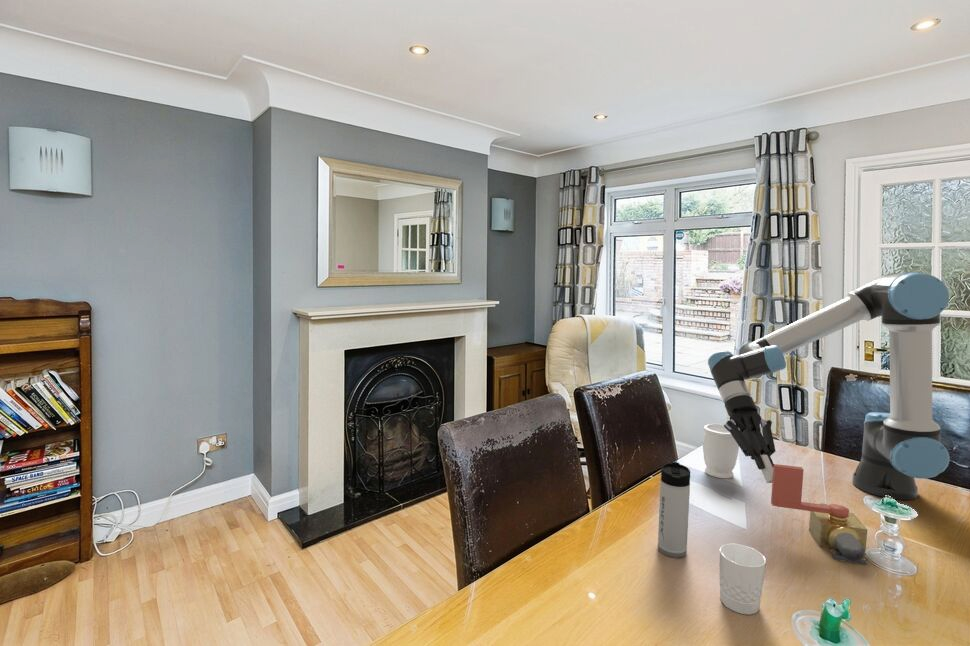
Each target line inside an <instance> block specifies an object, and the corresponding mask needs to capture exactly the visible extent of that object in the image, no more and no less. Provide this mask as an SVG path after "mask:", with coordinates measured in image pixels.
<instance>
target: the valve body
mask: <svg viewBox="0 0 970 646" xmlns="http://www.w3.org/2000/svg"><path fill="white" fill-rule="evenodd" d="M821 504H822V505H828V504H827V503H823V502H822V503H821ZM808 531H809V533H810V534H811V537H812V538H813V539H814V541H815V542H816V544H817V546H818V547H819V548H822V549H823V548H824V549H827V550H828V549H829V550H830V556H831V557H832V558H833V559H834V560H835V561H836V560H837V561H843V562H848V563H852V564H853V563H854V564H855V563H856V564H862V565H867V559H866V557H865V555H866V550H867V537H868V528H867V527H866V526H865V525H864V523H862V521H861V520H860V519H859V518H858V517H857V516H856V515H855V513H853V512H849V516H848V517H847V518H841V517H837V516H834V515H831V514H828V513H820V512H813V511H809V526H808Z"/></svg>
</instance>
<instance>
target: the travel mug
mask: <svg viewBox="0 0 970 646" xmlns="http://www.w3.org/2000/svg"><path fill="white" fill-rule="evenodd" d="M660 472H661V473H660V476H661V477H660V484H659V485H660V486H659V487H660V489H659V507H658V512H659V513H658V534H657V535H658V536H657V550H658V551H659V552H660V553H661V554H662V555H665V556H667V557H670V558H675V559H676V558H677V559H678V558H679V559H680V558H683V557H686V555H687V551H688V532H689V531H688V528H689V512H690V511H689V510H690V495H691V494H690V489H691V470H690V468H688V467H687V466H685V465H682V464H680V462H677V461H671V462H669V463H665V464H662V465H661V471H660Z"/></svg>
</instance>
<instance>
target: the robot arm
mask: <svg viewBox="0 0 970 646" xmlns="http://www.w3.org/2000/svg"><path fill="white" fill-rule="evenodd" d="M949 302H950V292H949V289H948V287H947V285H946V284H945V283H944V282H943V281H942V280H941V279H939V278H938V277H936V276H934V275H932V274H929V273H923V272H920V271H919V272H918V271H916V272H913V271H911V272H892V273H887V274H883V275H881V276H879V277H877V278H875V279H873V280H871V281H870V282H867V283H866V284H864V285H862V286H860V287H857V288H856V289H853V290H852V291H849V292H848V293H847V295H846V297H845V298H843V299H841V300H839V301H837V302H835V303H833V304H830V305H828V306H826V307H824V308H822V309H819V310H818V311H816V312H813V313H811V314H809V315H807V316H805V317H803V318H801V319H797V320H796V321H794V322H793V323H790V324H788V325H786V326H784V327H782V328H779V329H778V330H775V331H773V332H771V333H769V334H767V335H764V336H762V337H761V338H758V339H756V340H754V341H748V342H745V343H743V344H741V346H740V347H739V349H738V355H734V354H733V353H732V352H731V351H729V350H724V351H721V350H720V351H717V352H714V353H713V354H712V355H710V357H709V358H708V360H707V365H708V366H709V367H708V368H709V370H710V374H711V376H712V378H713V380H714V383H715V386H716V387H717V390H718V392H719V395H720V398H721V400H722V402H723V404H724V408H725V411H726V413H727V415H728V416H729V420H727V421H726V423H724V424H723V425H724V427H725V428H726V429H727V430H728V431H729V432H730V433H731V435H732V436H733V438H734V439H735V441H736V442H737V444H738V445H739V449H740V450H741V452H742V453H743V454H744V456H745V457H750V459H751V460H752V461H754V462H755V465H756V468H757V469H758V470H759V471H761V473H762V476H763V478H764V480H765V482H766V484H772V480H773V466H774V464H775V463H774V461H773V460H772V457H771V456H772V455H773V454H775V452H776V447H775V442H774V437H773V433H772V423H773V421H772V420H771V419H768V420H765V419H764V418H762V416H761V415H760V414H759V413H758V411H757V406H756V404H755V400H754V399H753V397H752V394H751V392H750V390H749V387H748V386H747V384H746V380H750V379H754V378H759V377H762V376H766V375H769V374H773V373H776V372H780V371H782V370H785V369H786V367H787V362H786V358H785V355H788V354H789V353H792V352H794V351H797V350H798V349H800V348H803V347H805V346H807V345H809V344H811V343H814V342H815V341H818V340H820V339H823V338H825V337H827V336H829V335H832V334H834V333H835V332H838V331H840V330H842V329H845V328H847V327H849V326H852V325H854V324H855V323H858V322H860V321H866V322H867V321H868V322H869V321H871V320H873V319H876V318H879V317H881V324H882V326H884V327H885V328H887V329H888V331H889V333H888V334H889V335H888V336H889V338H888V340H889V402H890V404H889V407H890V410H889V412H880V411H879V412H877V411H871V412H868V413H866V414H865V418H864V421H863V438H862V447H861V448H862V449H861V459H860V461H859V463H858V464H857V467H856V469H855V471H854V472H853V474H852V482H851V483H852V484H853V486H854V487H856V488H857V489H859V490H861V491H863V492H865V493H868V494H870V495H874V496H877V497H882V498H884V497H883V496H885V495H889V496H891V497H893V498H895V499H894V500H898V501H900V500H901V501H910V500H911V501H912V500H916V499H917V498H918V493H919V491H918V486H917V484H916V480H915V479H920V480H921V479H930V478H934V477H937V476H938V475H940V474H942V473H943V472H945V470H946V469H947V468H948V466H949V464H950V453H949V451H948V449H947V447H946V446H945V445H944V443H942V442H941V441H942V439H941V437H942V436H941V426H940V425H939V424H938V423H937V422H936V421H934V420H933V330H934V329H935V328H937V327H938V326H940V325H941V313H942V312H943V311H944V310H945V309H947V307H948V304H949Z"/></svg>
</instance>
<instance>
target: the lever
mask: <svg viewBox="0 0 970 646" xmlns="http://www.w3.org/2000/svg"><path fill="white" fill-rule="evenodd" d="M773 464H774V466H773V480H772V483H771V497H770V500H771V501H770V504H771V505H772V506H773V507H780V508H786V509H790V510H791V509H793V510H799V511H800V510H801V511H807V512H810V511H813V512H820V513H828V514H831V515H834V516H837V517H841V518H847V517H848V516H849V513H850V509H849V508H847V507H846V506H844V505H842V504H836V503H830V504H827V505H822V503H814V502H813V503H812V502H807V501H806V502H804V501H802V497H803V496H802V495H803V483H804V482H803V480H804V468H803V467H801V466H793V465H786V464H777V463H776V464H775V463H773Z"/></svg>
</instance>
